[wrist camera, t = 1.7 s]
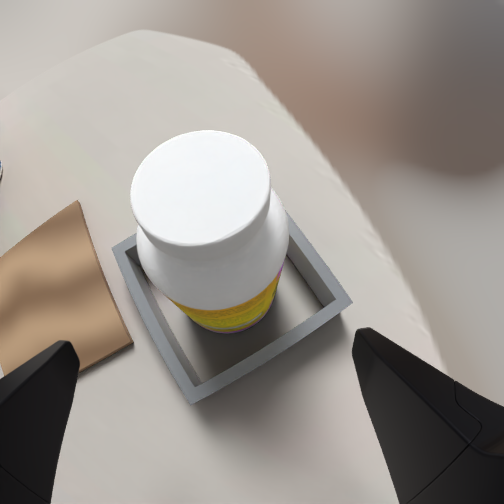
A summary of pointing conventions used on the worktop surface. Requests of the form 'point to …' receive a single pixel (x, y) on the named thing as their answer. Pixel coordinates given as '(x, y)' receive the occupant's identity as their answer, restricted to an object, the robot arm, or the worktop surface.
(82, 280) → the tan cardboard sheet
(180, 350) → the bin
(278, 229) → the supplement bottle
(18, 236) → the worktop surface
